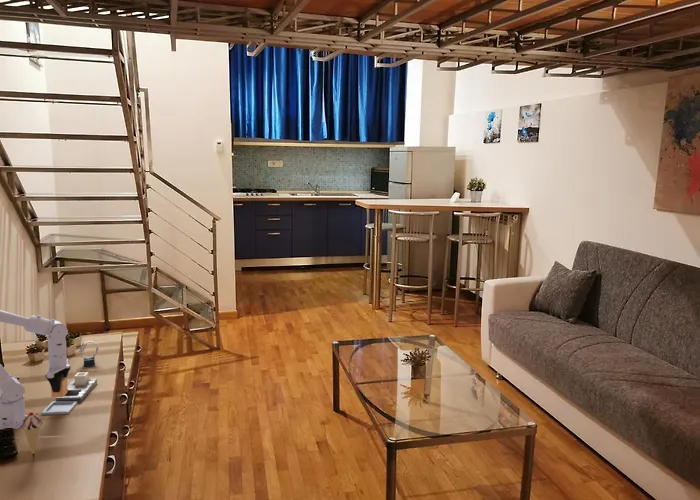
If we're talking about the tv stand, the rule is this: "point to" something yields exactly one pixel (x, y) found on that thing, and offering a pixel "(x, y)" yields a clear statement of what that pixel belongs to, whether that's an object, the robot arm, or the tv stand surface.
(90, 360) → the watch
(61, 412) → the tray
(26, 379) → the tv stand surface
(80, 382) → the beige box
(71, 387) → the grey rectangular holder
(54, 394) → the plug
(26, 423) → the ice cream cone
